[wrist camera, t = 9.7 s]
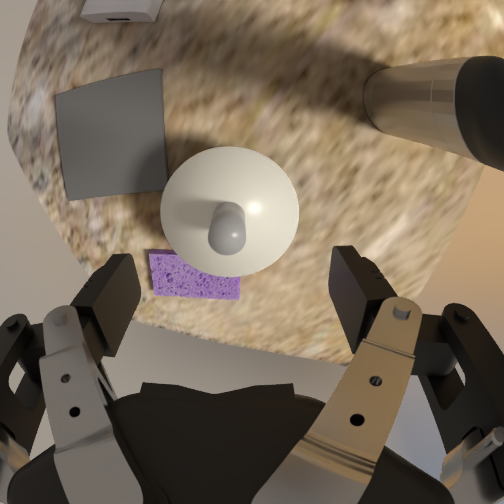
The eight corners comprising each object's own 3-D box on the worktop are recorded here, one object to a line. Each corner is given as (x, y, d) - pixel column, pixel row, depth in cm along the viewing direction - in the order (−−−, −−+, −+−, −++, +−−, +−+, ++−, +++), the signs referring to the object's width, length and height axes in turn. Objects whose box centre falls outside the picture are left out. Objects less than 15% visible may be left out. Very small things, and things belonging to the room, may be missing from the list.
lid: (299, 144, 26) (313, 152, 21) (294, 270, 32) (304, 301, 27) (154, 151, 25) (134, 162, 20) (172, 275, 32) (161, 306, 27)
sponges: (152, 247, 38) (148, 253, 36) (242, 251, 39) (242, 258, 37) (156, 288, 41) (153, 296, 40) (239, 293, 42) (239, 301, 40)
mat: (162, 69, 27) (159, 68, 26) (169, 187, 34) (167, 189, 33) (59, 95, 26) (55, 95, 25) (71, 198, 33) (68, 201, 32)
